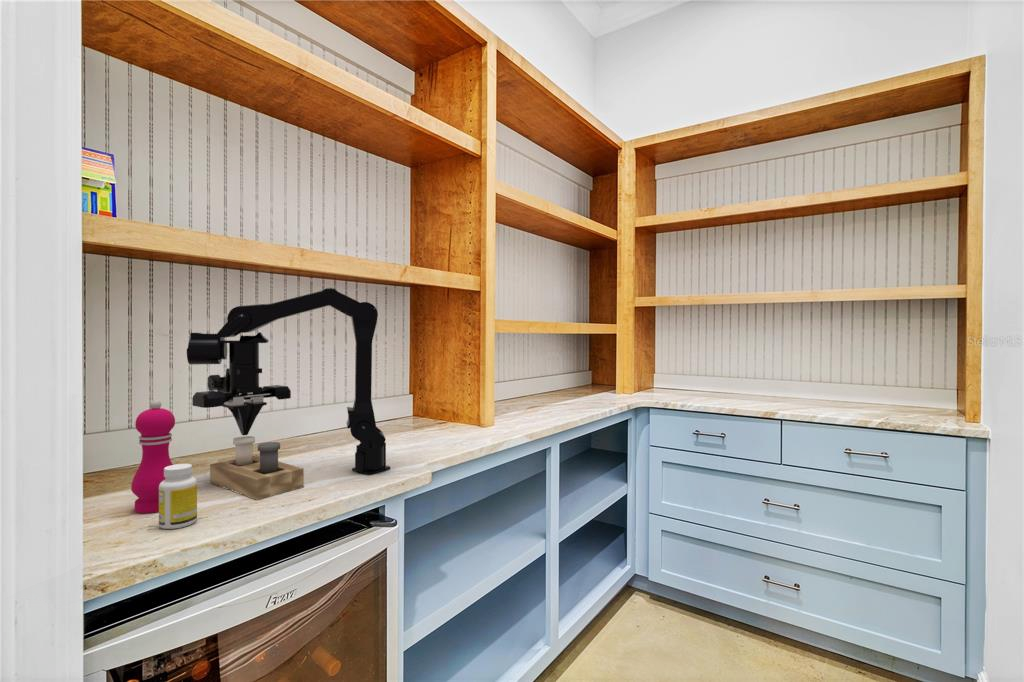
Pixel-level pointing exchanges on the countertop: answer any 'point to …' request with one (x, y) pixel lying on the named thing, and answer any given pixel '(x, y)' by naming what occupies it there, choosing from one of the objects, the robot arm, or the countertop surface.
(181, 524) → the supplement bottle
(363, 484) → the countertop surface
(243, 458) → the white plug
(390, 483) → the countertop surface
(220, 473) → the oak socket block
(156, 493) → the pepper mill
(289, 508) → the countertop surface
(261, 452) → the charcoal plug
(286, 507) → the countertop surface
